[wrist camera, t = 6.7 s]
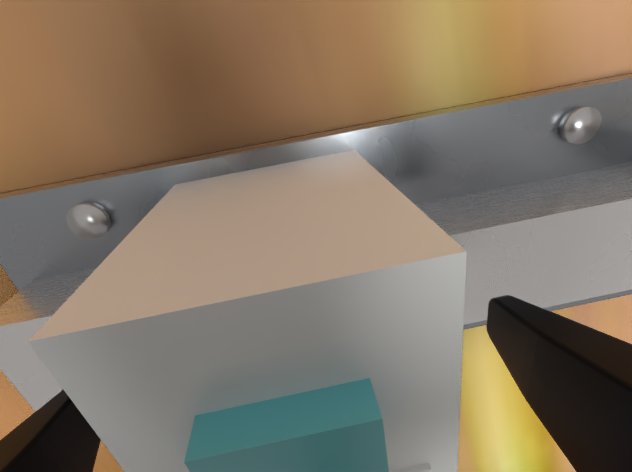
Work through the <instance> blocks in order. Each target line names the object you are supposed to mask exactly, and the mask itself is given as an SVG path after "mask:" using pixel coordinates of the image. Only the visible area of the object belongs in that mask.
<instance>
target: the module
mask: <svg viewBox="0 0 632 472" xmlns="http://www.w3.org/2000/svg"><path fill="white" fill-rule="evenodd" d="M466 256H467V251H466V250H465V249H463V248H462V247H461V246H460V245H459V244H458V243H457V242H456V241H455V240H453V239H452V238H451V237H450V236H449V235H448V234H447V233H446V232H445V231H443V230H442V229H441V228H440V227H439V226H438V225H437V224H436V223H435V222H434V221H432V220H431V219H430V218H429V217H428V216H427V215H426V214H425V213H424V212H422V211H421V210H420V209H419V208H418V207H417V206H416V205H415V204H414V203H412V202H411V201H410V200H409V199H408V198H407V197H406V196H405V195H404V194H403V193H401V192H400V191H399V190H398V189H397V188H396V187H395V186H394V185H393V184H391V183H390V182H389V181H388V180H387V179H386V178H385V177H384V176H383V175H381V174H380V173H379V172H378V171H377V170H376V169H375V168H374V167H373V166H371V165H370V164H369V163H368V162H367V161H366V160H365V159H364V158H363V157H362V156H360V155H359V154H358V153H357V152H356V151H355V150H350V151H345V152H340V153H334V154H329V155H324V156H319V157H314V158H309V159H304V160H298V161H293V162H288V163H283V164H278V165H273V166H268V167H262V168H257V169H252V170H247V171H242V172H237V173H231V174H226V175H221V176H216V177H211V178H206V179H201V180H195V181H190V182H185V183H180V184H175V185H174V186H173V187H172V188H171V189H170V190H169V192H168V193H167V194H166V195H165V196H164V197H163V198H162V199H161V200H160V201H159V202H158V203H157V204H156V205H155V206H154V208H153V209H152V210H151V211H150V212H149V213H148V214H147V215H146V216H145V217H144V218H143V219H142V220H141V221H140V222H139V224H138V225H137V226H136V227H135V228H134V229H133V230H132V231H131V232H130V233H129V234H128V235H127V236H126V237H125V238H124V240H123V241H122V242H121V243H120V244H119V245H118V246H117V247H116V248H115V249H114V250H113V251H112V252H111V253H110V254H109V256H108V257H107V258H106V259H105V260H104V261H103V262H102V263H101V264H100V265H99V266H98V267H97V268H96V269H95V270H94V272H93V273H92V274H91V275H90V276H89V277H88V278H87V279H86V280H85V281H84V282H83V283H82V284H81V285H80V286H79V287H78V289H77V290H76V291H75V292H74V293H73V294H72V295H71V296H70V297H69V298H68V299H67V300H66V301H65V302H64V303H63V305H62V306H61V307H60V308H59V309H58V310H57V311H56V312H55V313H54V314H53V315H52V316H51V317H50V318H49V319H48V321H47V322H46V323H45V324H44V325H43V326H42V327H41V328H40V329H39V330H38V331H37V332H36V333H35V334H34V335H33V337H32V338H31V339H30V340H29V341H28V342H29V344H30V345H31V346H32V348H33V349H34V351H35V352H36V353H37V355H38V356H39V357H40V359H41V360H42V361H43V363H44V364H45V365H46V367H47V368H48V369H49V371H50V372H51V373H52V375H53V376H54V377H55V379H56V380H57V381H58V383H59V384H60V385H61V387H62V388H63V390H64V391H65V392H66V394H67V395H68V396H69V398H70V399H71V400H72V402H73V403H74V404H75V406H76V407H77V408H78V410H79V411H80V412H81V414H82V415H83V416H84V418H85V419H86V420H87V422H88V423H89V424H90V426H91V427H92V429H93V430H94V431H95V433H96V434H97V435H98V437H99V438H100V439H101V441H102V442H103V443H104V445H105V446H106V447H107V449H108V450H109V451H110V453H111V454H112V455H113V457H114V458H115V459H116V461H117V462H118V463H119V465H120V466H121V468H122V469H123V470H124V472H457V466H458V443H459V419H460V396H461V373H462V349H463V326H464V303H465V279H466Z"/></svg>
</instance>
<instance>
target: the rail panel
mask: <svg viewBox="0 0 632 472" xmlns="http://www.w3.org/2000/svg"><path fill="white" fill-rule="evenodd" d="M350 150H355V151H356V152H357V153H358V154H359V155H360V156H362V157H363V158H364V159H365V160H366V161H367V162H368V163H369V164H370V165H371V166H373V167H374V168H375V169H376V170H377V171H378V172H379V173H380V174H381V175H383V176H384V177H385V178H386V179H387V180H388V181H389V182H390V183H391V184H393V185H394V186H395V187H396V188H397V189H398V190H399V191H400V192H401V193H403V194H404V195H405V196H406V197H407V198H408V199H409V200H410V201H411V202H412V203H414V204H415V205H416V206H417V207H418V208H419V209H420V210H421V211H422V212H424V213H425V214H426V215H427V216H428V217H429V218H430V219H431V220H432V221H434V222H435V223H436V224H437V225H438V226H439V227H440V228H441V229H442V230H443V231H445V232H446V233H447V234H448V235H449V236H450V237H451V238H452V239H453V240H455V241H456V242H457V243H458V244H459V245H460V246H461V247H462V248H463V249H465V250H466V251H467V256H466V279H465V303H464V326H463V329H468V328H473V327H478V326H482V325H487V315H488V304H489V301H490V299H492V298H495V297H500V296H504V295H510V296H513V297H516V298H518V299H521V300H523V301H526V302H528V303H531V304H533V305H536V306H538V307H541V308H543V309H546V310H548V311H554V310H558V309H563V308H568V307H573V306H577V305H582V304H587V303H592V302H596V301H601V300H606V299H611V298H615V297H620V296H625V295H630V294H632V73H630V74H624V75H619V76H614V77H609V78H603V79H598V80H593V81H588V82H582V83H577V84H572V85H567V86H561V87H556V88H551V89H546V90H540V91H535V92H530V93H525V94H519V95H514V96H509V97H504V98H498V99H493V100H488V101H483V102H477V103H472V104H467V105H462V106H456V107H451V108H446V109H441V110H435V111H430V112H425V113H420V114H414V115H409V116H404V117H399V118H393V119H388V120H383V121H378V122H372V123H367V124H362V125H357V126H351V127H346V128H341V129H336V130H330V131H325V132H320V133H315V134H309V135H304V136H299V137H294V138H288V139H283V140H278V141H273V142H267V143H262V144H257V145H252V146H246V147H241V148H236V149H231V150H225V151H220V152H215V153H210V154H204V155H199V156H194V157H189V158H183V159H178V160H173V161H168V162H162V163H157V164H152V165H147V166H141V167H136V168H131V169H126V170H120V171H115V172H110V173H105V174H99V175H94V176H89V177H84V178H78V179H73V180H68V181H63V182H57V183H52V184H47V185H42V186H36V187H31V188H26V189H21V190H15V191H10V192H5V193H0V265H1V266H2V267H3V269H4V270H5V272H6V273H7V275H8V276H9V278H10V279H11V280H12V282H13V283H14V285H15V286H16V288H17V289H18V291H19V292H17V293H16V294H15V295H14V296H13V297H11V298H10V299H9V300H8V301H7V302H5V303H4V304H3V305H2V306H1V307H0V370H1V371H2V372H3V373H4V374H5V376H6V377H7V378H8V379H9V380H10V382H11V383H12V384H13V385H14V386H15V388H16V389H17V390H18V391H19V392H20V394H21V395H22V396H23V397H24V398H25V400H26V401H27V402H28V403H29V404H30V406H31V407H32V408H33V409H34V410H35V412H36V411H37V410H38V409H40V408H41V407H42V406H43V405H45V404H46V403H47V402H48V401H49V400H51V399H52V398H53V397H54V396H56V395H57V394H58V393H59V392H61V391H62V390H63V388H62V387H61V385H60V384H59V383H58V381H57V380H56V379H55V377H54V376H53V375H52V373H51V372H50V371H49V369H48V368H47V367H46V365H45V364H44V363H43V361H42V360H41V359H40V357H39V356H38V355H37V353H36V352H35V351H34V349H33V348H32V346H31V345H30V344H29V342H28V341H29V340H30V339H31V338H32V337H33V335H34V334H35V333H36V332H37V331H38V330H39V329H40V328H41V327H42V326H43V325H44V324H45V323H46V322H47V321H48V319H49V318H50V317H51V316H52V315H53V314H54V313H55V312H56V311H57V310H58V309H59V308H60V307H61V306H62V305H63V303H64V302H65V301H66V300H67V299H68V298H69V297H70V296H71V295H72V294H73V293H74V292H75V291H76V290H77V289H78V287H79V286H80V285H81V284H82V283H83V282H84V281H85V280H86V279H87V278H88V277H89V276H90V275H91V274H92V273H93V272H94V270H95V269H96V268H97V267H98V266H99V265H100V264H101V263H102V262H103V261H104V260H105V259H106V258H107V257H108V256H109V254H110V253H111V252H112V251H113V250H114V249H115V248H116V247H117V246H118V245H119V244H120V243H121V242H122V241H123V240H124V238H125V237H126V236H127V235H128V234H129V233H130V232H131V231H132V230H133V229H134V228H135V227H136V226H137V225H138V224H139V222H140V221H141V220H142V219H143V218H144V217H145V216H146V215H147V214H148V213H149V212H150V211H151V210H152V209H153V208H154V206H155V205H156V204H157V203H158V202H159V201H160V200H161V199H162V198H163V197H164V196H165V195H166V194H167V193H168V192H169V190H170V189H171V188H172V187H173V186H174V185H175V184H180V183H185V182H190V181H195V180H201V179H206V178H211V177H216V176H221V175H226V174H231V173H237V172H242V171H247V170H252V169H257V168H262V167H268V166H273V165H278V164H283V163H288V162H293V161H298V160H304V159H309V158H314V157H319V156H324V155H329V154H334V153H340V152H345V151H350Z"/></svg>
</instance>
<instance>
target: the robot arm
mask: <svg viewBox="0 0 632 472" xmlns="http://www.w3.org/2000/svg"><path fill="white" fill-rule="evenodd" d="M487 332H488V334H489V337H490V339H491V340H492V342H493V344H494V346H495V347H496V349H497V351H498V353H499V354H500V356H501V358H502V359H503V361H504V363H505V365H506V366H507V368H508V370H509V372H510V373H511V375H512V377H513V379H514V380H515V382H516V384H517V386H518V387H519V389H520V391H521V392H522V394H523V396H524V397H525V399H526V401H527V402H528V404H529V405H530V406H531V408H532V409H533V411H534V412H535V414H536V415H537V417H538V418H539V419H540V421H541V422H542V424H543V425H544V426H545V428H546V429H547V431H548V432H549V433H550V435H551V436H552V438H553V439H554V440H555V442H556V443H557V445H558V446H559V448H560V449H561V450H562V452H563V453H564V455H565V456H566V457H567V459H568V460H569V462H570V463H571V464H572V466H573V467H574V469H575V470H576V471H577V472H632V344H630V343H627V342H625V341H622V340H620V339H617V338H615V337H612V336H610V335H607V334H605V333H602V332H600V331H597V330H595V329H593V328H590V327H588V326H585V325H583V324H580V323H578V322H575V321H573V320H570V319H568V318H565V317H563V316H560V315H558V314H555V313H553V312H550V311H548V310H546V309H543V308H541V307H538V306H536V305H533V304H531V303H528V302H526V301H523V300H521V299H518V298H516V297H513V296H510V295H504V296H500V297H495V298H492V299H490V301H489V304H488V315H487ZM100 440H101V439H100V438H99V437H98V435H97V434H96V433H95V431H94V430H93V429H92V427H91V426H90V424H89V423H88V422H87V420H86V419H85V418H84V416H83V415H82V414H81V412H80V411H79V410H78V408H77V407H76V406H75V404H74V403H73V402H72V400H71V399H70V398H69V396H68V395H67V394H66V392H65V391H64V390H62V391H61V392H59V393H58V394H57V395H56V396H54V397H53V398H52V399H51V400H49V401H48V402H47V403H46V404H45V405H43V406H42V407H41V408H40V409H38V410H37V411H36V412H35V413H33V414H32V415H31V416H30V417H29V418H27V419H26V420H25V421H24V422H22V423H21V424H20V425H19V426H17V427H16V428H15V429H14V430H13V431H11V432H10V433H9V434H8V435H6V436H5V437H4V438H3V439H1V440H0V472H93V468H94V464H95V460H96V456H97V452H98V448H99V444H100Z"/></svg>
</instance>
